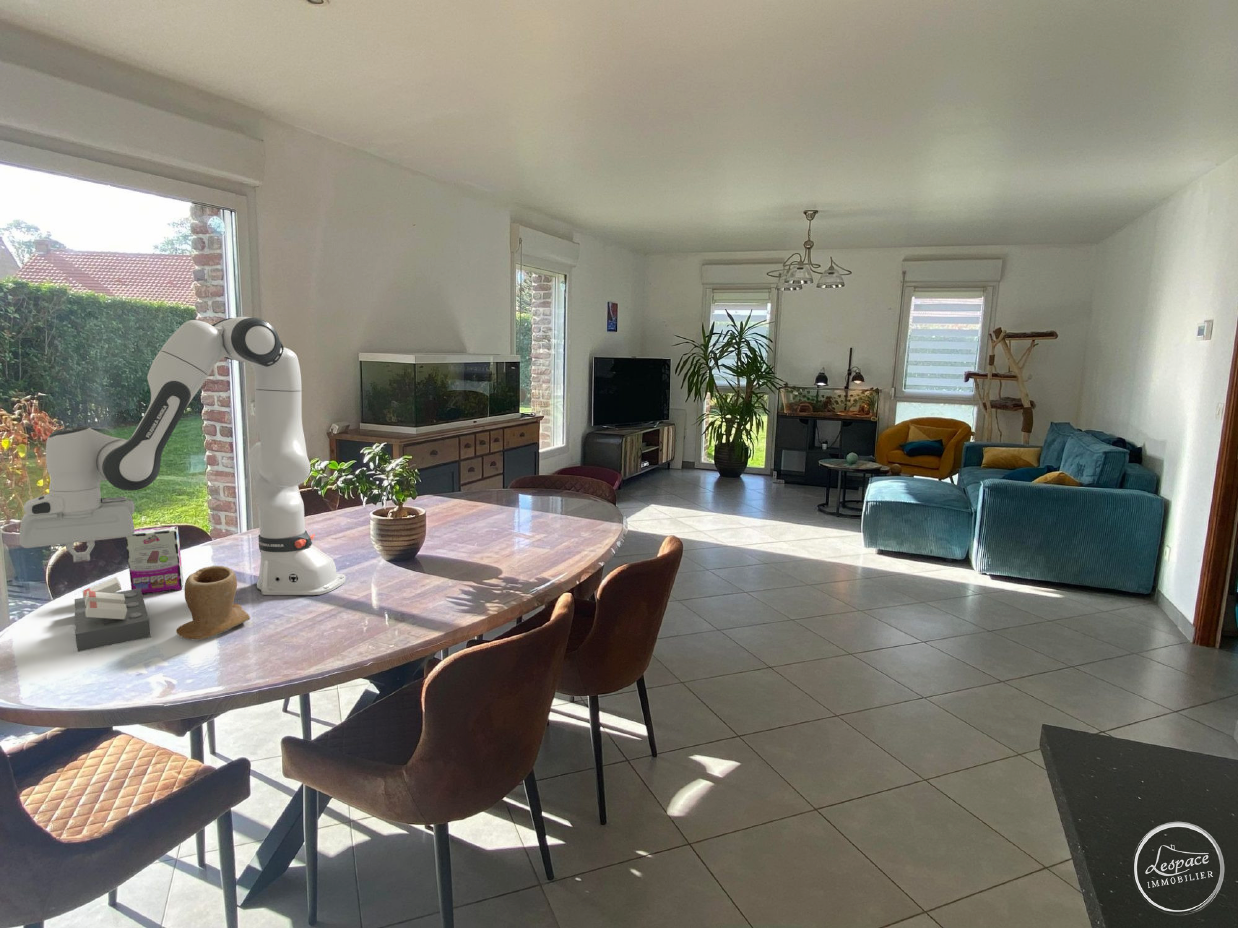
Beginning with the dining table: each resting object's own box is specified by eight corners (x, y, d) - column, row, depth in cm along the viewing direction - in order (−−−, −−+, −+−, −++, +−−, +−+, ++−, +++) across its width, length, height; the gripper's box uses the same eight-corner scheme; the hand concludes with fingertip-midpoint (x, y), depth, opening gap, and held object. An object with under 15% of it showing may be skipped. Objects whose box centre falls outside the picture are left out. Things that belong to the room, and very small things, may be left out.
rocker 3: (123, 612, 157) (126, 603, 157) (124, 619, 153) (127, 609, 153) (85, 610, 152) (88, 600, 152) (85, 616, 149) (88, 607, 149)
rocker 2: (121, 602, 163) (124, 593, 163) (122, 608, 159) (125, 599, 159) (84, 599, 158) (87, 590, 158) (85, 605, 155) (87, 596, 155)
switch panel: (142, 603, 174) (140, 583, 173) (150, 636, 155) (148, 614, 154) (76, 614, 166) (73, 594, 165) (77, 651, 147) (74, 628, 146)
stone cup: (204, 648, 150) (198, 582, 147) (168, 637, 155) (162, 573, 152) (265, 623, 164) (261, 562, 161) (230, 614, 169) (225, 555, 166)
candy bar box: (184, 584, 187) (178, 525, 184) (182, 590, 183) (176, 530, 180) (134, 590, 182) (127, 529, 179) (131, 596, 178) (124, 534, 175)
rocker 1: (120, 583, 168) (116, 576, 167) (121, 589, 165) (117, 581, 164) (86, 598, 165) (82, 590, 164) (87, 604, 161) (82, 596, 160)
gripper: (132, 493, 162) (137, 550, 164) (16, 502, 149) (23, 564, 152) (134, 498, 157) (139, 557, 159) (14, 508, 144) (22, 572, 147)
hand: (81, 560), depth 155 cm, fingers closed
